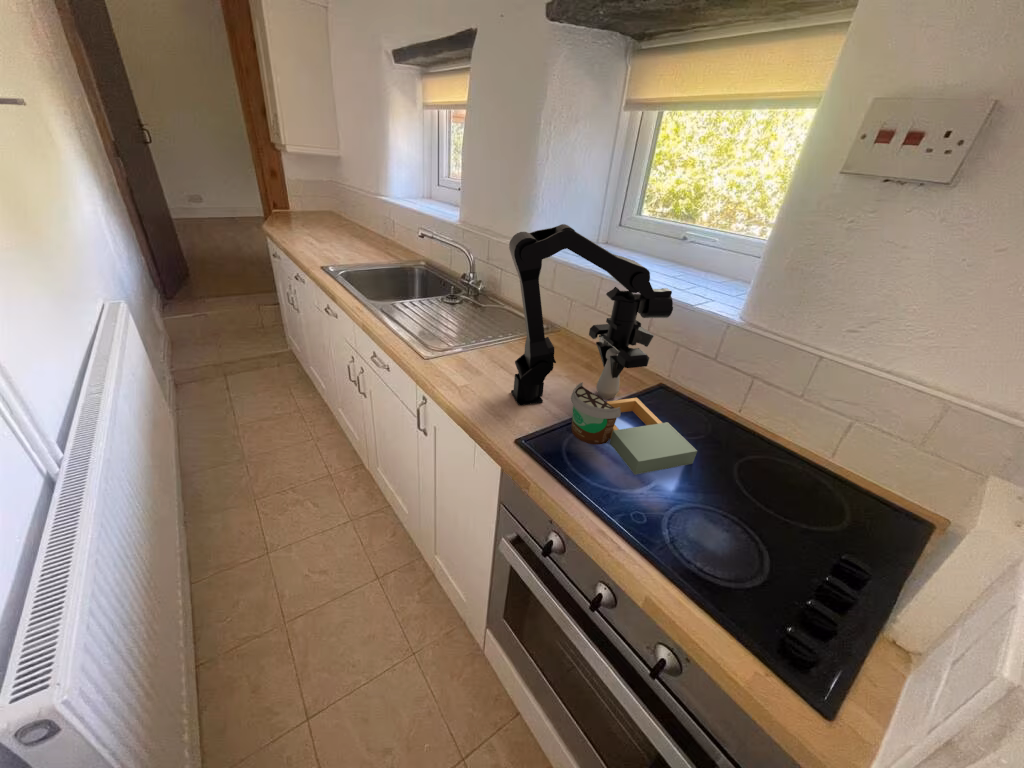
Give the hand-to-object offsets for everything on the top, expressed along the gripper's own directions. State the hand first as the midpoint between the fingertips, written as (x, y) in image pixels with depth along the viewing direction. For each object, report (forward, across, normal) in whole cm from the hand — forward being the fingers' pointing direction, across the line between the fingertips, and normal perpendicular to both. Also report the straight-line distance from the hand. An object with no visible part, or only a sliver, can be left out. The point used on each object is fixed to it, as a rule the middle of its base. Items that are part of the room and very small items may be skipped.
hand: (610, 375), depth 103 cm
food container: (+6, -14, +14) cm, 21 cm away
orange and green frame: (+6, -18, +2) cm, 19 cm away
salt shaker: (+6, 0, 0) cm, 6 cm away
